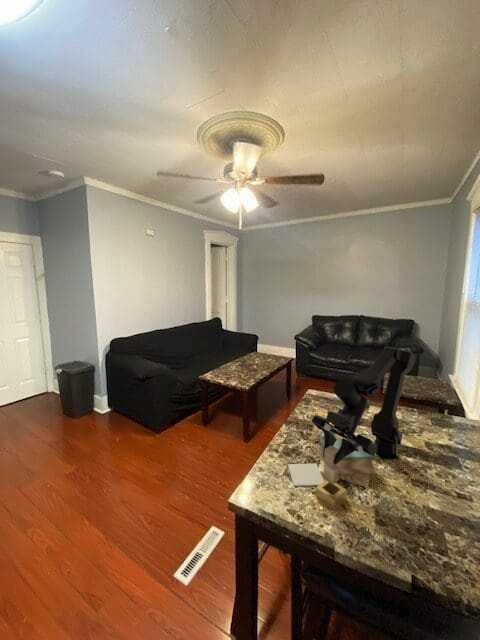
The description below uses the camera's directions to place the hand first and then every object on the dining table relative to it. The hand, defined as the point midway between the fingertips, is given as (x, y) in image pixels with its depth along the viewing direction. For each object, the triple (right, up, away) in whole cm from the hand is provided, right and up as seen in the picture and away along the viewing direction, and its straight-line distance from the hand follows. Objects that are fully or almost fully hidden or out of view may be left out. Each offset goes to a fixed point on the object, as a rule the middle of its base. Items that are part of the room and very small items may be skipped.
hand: (328, 460), depth 80 cm
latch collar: (+1, -12, +2) cm, 13 cm away
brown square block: (+1, -6, +2) cm, 7 cm away
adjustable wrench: (+15, -7, +42) cm, 45 cm away
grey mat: (-4, -11, +12) cm, 17 cm away
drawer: (+11, -10, +17) cm, 23 cm away
